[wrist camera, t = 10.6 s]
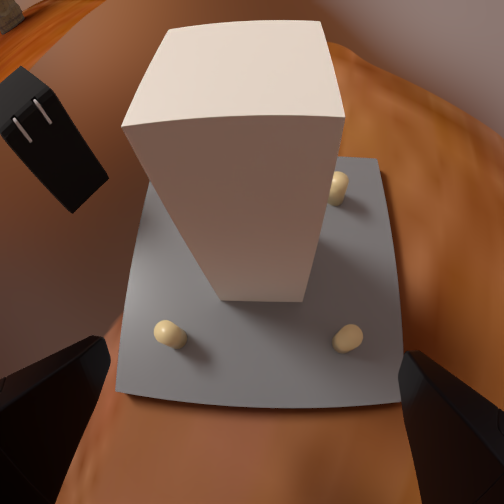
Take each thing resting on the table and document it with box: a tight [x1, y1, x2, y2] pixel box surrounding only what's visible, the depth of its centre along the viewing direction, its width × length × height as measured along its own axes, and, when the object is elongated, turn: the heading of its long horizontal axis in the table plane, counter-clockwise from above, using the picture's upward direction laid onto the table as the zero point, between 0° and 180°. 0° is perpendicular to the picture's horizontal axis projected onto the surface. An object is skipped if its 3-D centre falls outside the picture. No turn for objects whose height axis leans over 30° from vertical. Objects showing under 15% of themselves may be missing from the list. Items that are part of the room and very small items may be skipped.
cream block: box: [121, 20, 345, 302], centre depth 13 cm, size 4×4×13 cm
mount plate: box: [115, 157, 403, 408], centre depth 18 cm, size 16×16×3 cm
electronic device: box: [0, 66, 109, 213], centre depth 20 cm, size 4×10×10 cm, turn 48°
